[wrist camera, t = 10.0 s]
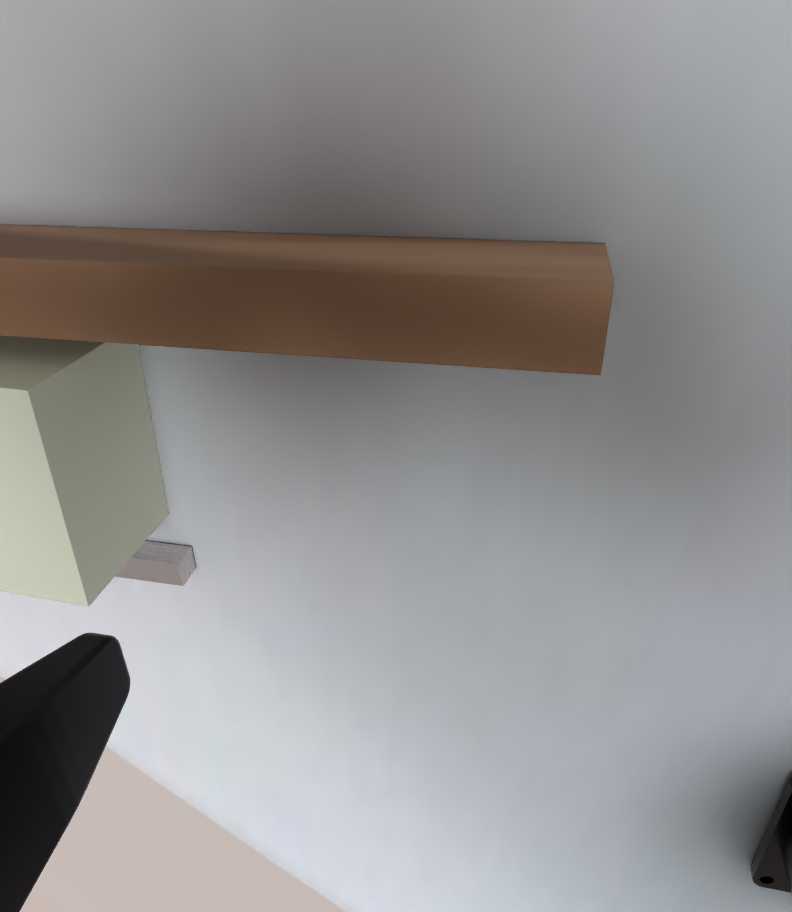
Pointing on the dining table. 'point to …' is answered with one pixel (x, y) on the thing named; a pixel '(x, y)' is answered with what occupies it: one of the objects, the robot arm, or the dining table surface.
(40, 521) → the pale green block
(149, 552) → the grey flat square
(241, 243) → the long brown board
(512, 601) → the dining table surface
